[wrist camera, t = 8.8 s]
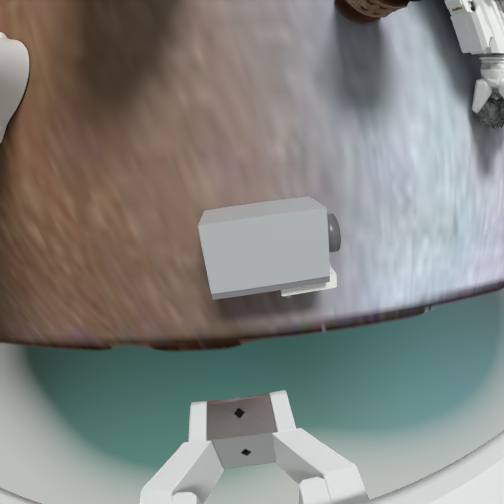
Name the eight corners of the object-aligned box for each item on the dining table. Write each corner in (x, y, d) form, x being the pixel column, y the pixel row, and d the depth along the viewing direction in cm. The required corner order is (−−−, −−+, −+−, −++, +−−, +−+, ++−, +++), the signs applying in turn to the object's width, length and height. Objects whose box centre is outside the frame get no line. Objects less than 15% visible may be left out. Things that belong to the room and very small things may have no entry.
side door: (276, 282, 36) (282, 301, 32) (274, 265, 36) (280, 282, 31) (324, 275, 36) (336, 292, 32) (323, 258, 36) (336, 273, 31)
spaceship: (450, -56, 19) (491, -74, 8) (509, 118, 34) (559, 129, 23) (382, -72, 19) (420, -103, 9) (455, 128, 34) (513, 140, 23)
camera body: (215, 272, 37) (212, 300, 30) (204, 210, 34) (197, 225, 27) (325, 256, 37) (344, 279, 30) (321, 194, 34) (342, 206, 28)
